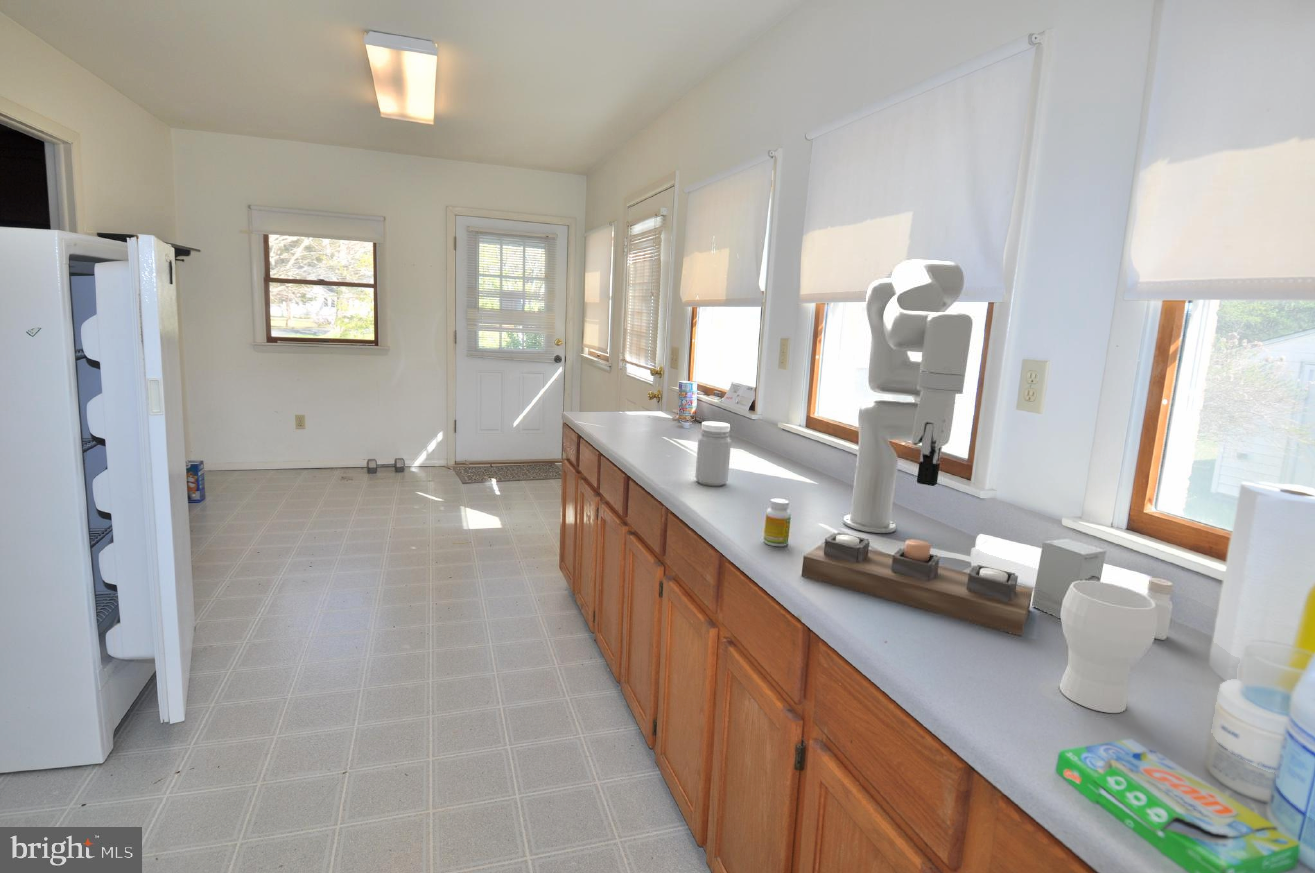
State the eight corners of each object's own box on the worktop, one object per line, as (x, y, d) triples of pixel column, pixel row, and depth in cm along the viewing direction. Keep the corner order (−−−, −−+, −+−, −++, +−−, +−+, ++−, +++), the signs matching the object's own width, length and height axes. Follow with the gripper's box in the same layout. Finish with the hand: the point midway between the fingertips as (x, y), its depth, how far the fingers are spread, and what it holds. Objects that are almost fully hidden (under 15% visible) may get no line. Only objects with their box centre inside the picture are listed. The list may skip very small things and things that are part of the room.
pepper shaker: (1166, 642, 112) (1177, 587, 110) (1136, 634, 114) (1147, 581, 112) (1163, 633, 115) (1174, 580, 113) (1135, 626, 117) (1145, 574, 115)
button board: (826, 557, 142) (829, 525, 141) (1029, 609, 121) (1035, 572, 120) (801, 575, 130) (805, 541, 129) (1021, 636, 110) (1028, 595, 109)
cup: (1124, 687, 95) (1144, 587, 93) (1151, 728, 85) (1174, 617, 83) (1040, 670, 99) (1057, 573, 96) (1057, 707, 89) (1076, 600, 86)
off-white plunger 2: (979, 581, 121) (982, 566, 121) (1006, 588, 119) (1009, 572, 118) (975, 589, 117) (978, 572, 117) (1003, 596, 115) (1006, 579, 115)
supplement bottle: (787, 548, 146) (792, 505, 144) (762, 545, 147) (766, 502, 145) (788, 540, 151) (792, 499, 149) (763, 537, 152) (768, 496, 150)
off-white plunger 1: (838, 547, 135) (840, 533, 134) (860, 552, 133) (862, 538, 132) (831, 552, 131) (833, 538, 131) (853, 558, 129) (855, 543, 128)
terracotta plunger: (906, 552, 128) (908, 537, 127) (931, 558, 125) (933, 543, 125) (900, 558, 124) (903, 543, 124) (925, 564, 122) (928, 549, 121)
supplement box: (1070, 623, 116) (1083, 554, 114) (1029, 606, 123) (1041, 540, 121) (1095, 617, 120) (1108, 550, 118) (1054, 601, 126) (1066, 536, 124)
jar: (693, 484, 198) (697, 424, 195) (696, 477, 207) (701, 419, 204) (726, 488, 196) (731, 427, 193) (728, 480, 206) (733, 422, 203)
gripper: (927, 379, 127) (914, 474, 130) (908, 382, 115) (894, 486, 118) (970, 384, 123) (956, 481, 126) (955, 387, 111) (940, 495, 114)
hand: (926, 483), depth 122 cm, fingers closed
